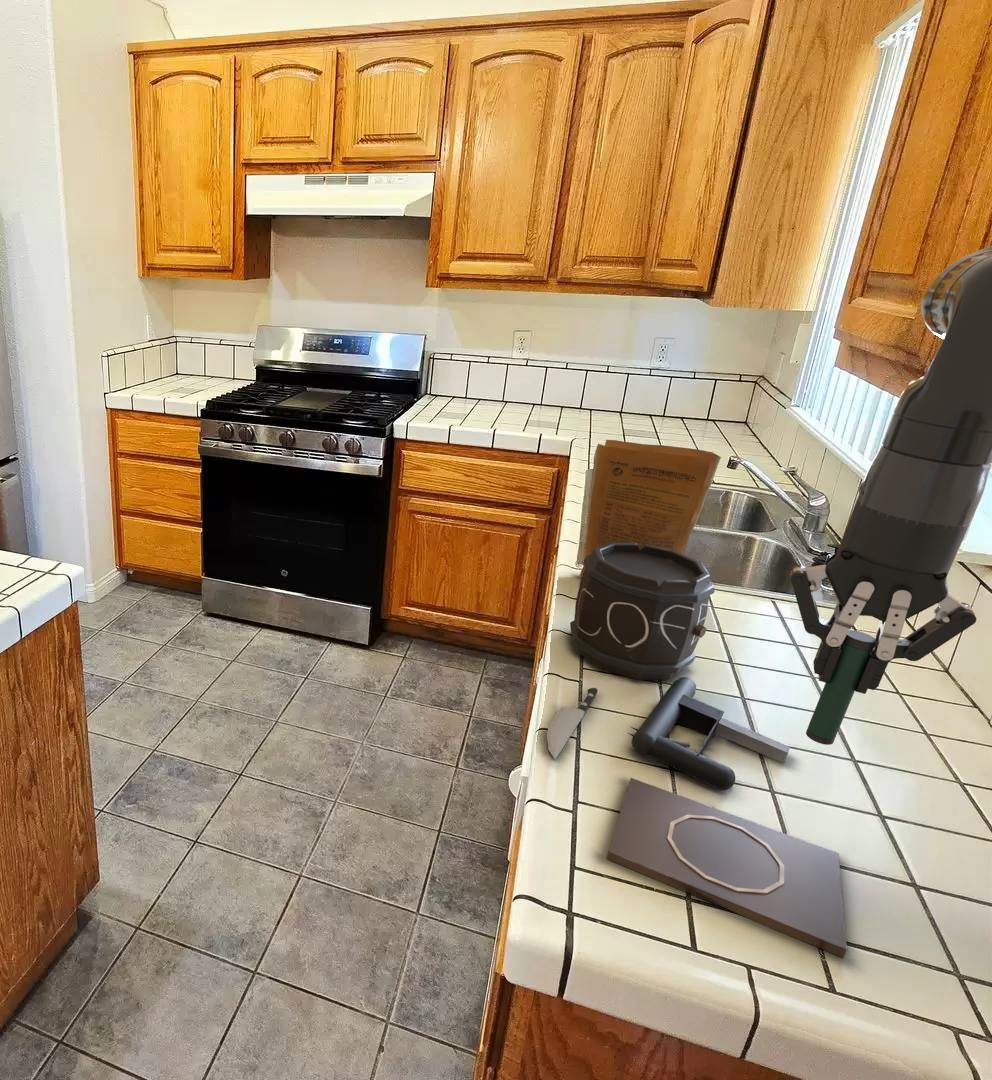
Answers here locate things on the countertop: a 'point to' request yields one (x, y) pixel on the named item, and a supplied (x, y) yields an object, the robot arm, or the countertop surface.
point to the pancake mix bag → (646, 494)
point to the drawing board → (732, 864)
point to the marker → (840, 687)
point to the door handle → (703, 720)
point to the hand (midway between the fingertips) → (841, 683)
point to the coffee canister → (640, 610)
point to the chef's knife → (567, 723)
